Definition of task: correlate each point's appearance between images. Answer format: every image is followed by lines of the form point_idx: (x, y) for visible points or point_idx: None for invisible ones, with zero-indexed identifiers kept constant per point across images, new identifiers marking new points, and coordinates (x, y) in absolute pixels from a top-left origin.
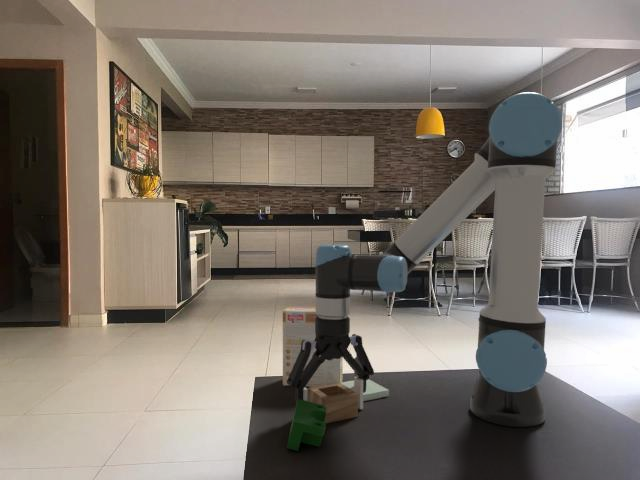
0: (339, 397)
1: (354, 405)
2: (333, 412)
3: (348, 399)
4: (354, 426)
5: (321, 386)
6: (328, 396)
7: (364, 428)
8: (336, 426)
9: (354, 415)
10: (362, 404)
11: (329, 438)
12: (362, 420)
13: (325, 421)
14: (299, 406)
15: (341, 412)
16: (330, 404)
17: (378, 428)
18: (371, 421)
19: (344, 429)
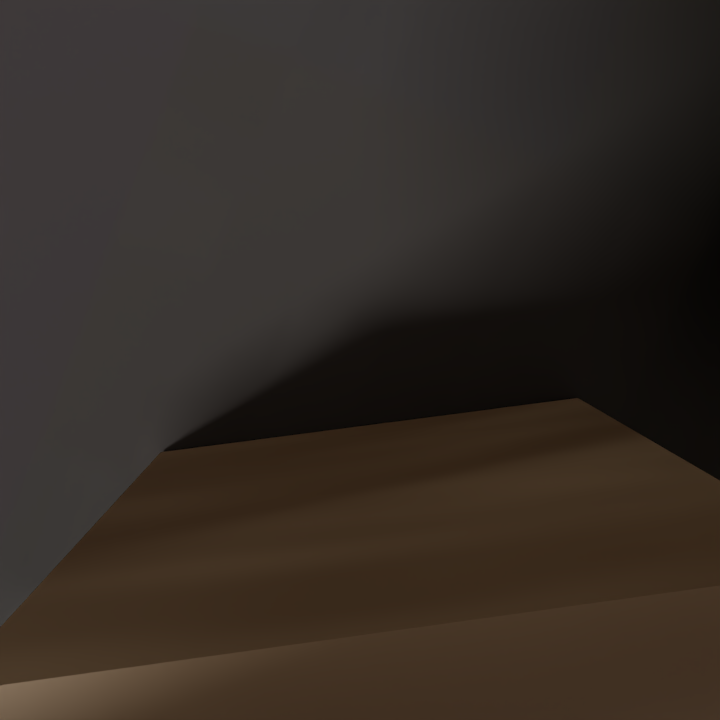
0: (474, 606)
1: (155, 522)
2: (510, 454)
3: (241, 585)
4: (299, 220)
5: None
6: (692, 707)
7: (204, 122)
8: (492, 292)
9: (201, 454)
10: None
11: (707, 10)
12: (146, 344)
13: (580, 406)
14: None
15: (381, 462)
16: (632, 510)
17: (28, 53)
18: (48, 282)
19: (442, 183)
